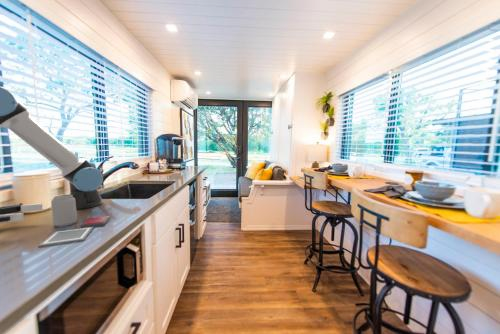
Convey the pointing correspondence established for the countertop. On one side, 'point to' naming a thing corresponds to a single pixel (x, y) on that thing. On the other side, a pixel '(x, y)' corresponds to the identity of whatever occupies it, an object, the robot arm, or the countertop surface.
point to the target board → (67, 236)
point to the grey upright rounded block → (64, 210)
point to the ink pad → (95, 222)
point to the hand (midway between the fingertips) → (33, 211)
